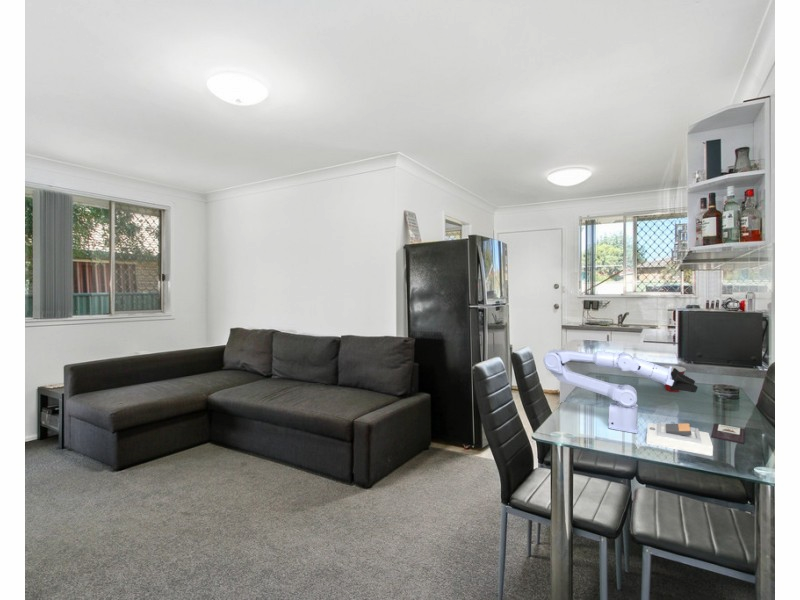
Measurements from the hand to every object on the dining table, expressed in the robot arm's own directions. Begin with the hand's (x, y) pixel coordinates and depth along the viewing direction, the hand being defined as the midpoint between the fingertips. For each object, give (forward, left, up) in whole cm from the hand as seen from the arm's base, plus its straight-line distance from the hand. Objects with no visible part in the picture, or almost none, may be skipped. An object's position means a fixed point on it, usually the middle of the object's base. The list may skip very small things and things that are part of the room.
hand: (695, 386), depth 145 cm
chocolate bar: (+11, +15, -19) cm, 27 cm away
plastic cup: (-5, +77, -19) cm, 80 cm away
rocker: (-4, -6, -15) cm, 17 cm away
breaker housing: (-5, -6, -19) cm, 20 cm away
